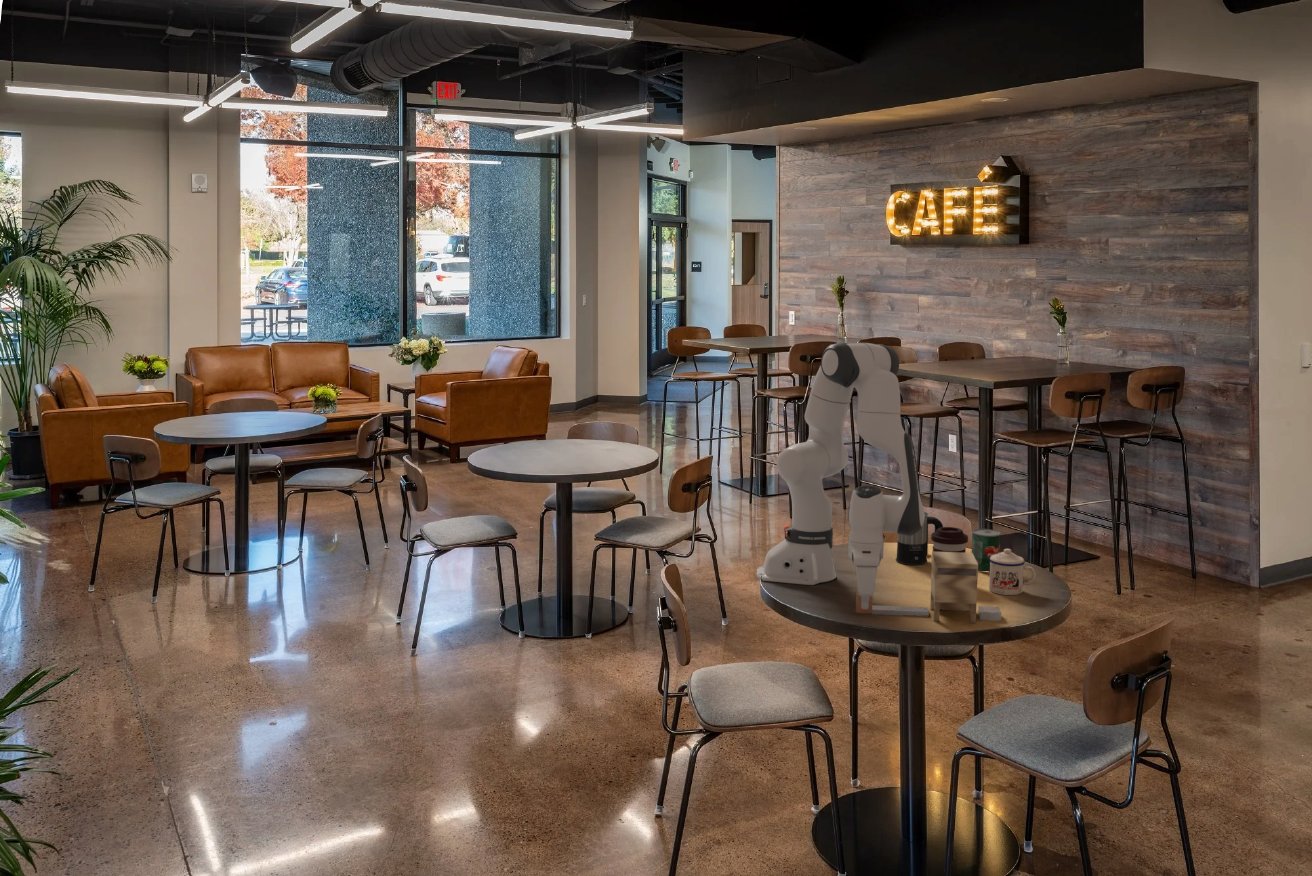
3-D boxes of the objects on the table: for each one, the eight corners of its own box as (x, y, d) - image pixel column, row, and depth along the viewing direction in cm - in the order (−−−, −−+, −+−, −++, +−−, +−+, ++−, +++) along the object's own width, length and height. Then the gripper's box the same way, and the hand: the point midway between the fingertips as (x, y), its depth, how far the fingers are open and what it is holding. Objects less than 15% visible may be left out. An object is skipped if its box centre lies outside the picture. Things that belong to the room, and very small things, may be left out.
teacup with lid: (987, 594, 296) (989, 552, 294) (988, 585, 305) (990, 544, 303) (1035, 598, 292) (1037, 555, 291) (1034, 588, 301) (1036, 547, 299)
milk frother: (907, 567, 323) (908, 517, 321) (876, 554, 337) (878, 506, 335) (946, 562, 328) (948, 513, 326) (915, 549, 343) (916, 502, 340)
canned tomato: (995, 574, 315) (997, 536, 314) (967, 570, 319) (969, 533, 317) (1001, 567, 322) (1003, 530, 320) (974, 564, 326) (976, 527, 324)
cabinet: (934, 621, 273) (936, 563, 271) (930, 607, 284) (932, 551, 282) (975, 623, 272) (978, 564, 269) (970, 609, 283) (972, 552, 281)
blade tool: (856, 613, 280) (856, 594, 279) (855, 609, 284) (856, 590, 283) (928, 616, 278) (929, 597, 277) (927, 612, 281) (928, 593, 280)
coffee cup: (967, 587, 302) (969, 534, 300) (930, 585, 304) (932, 532, 302) (964, 577, 312) (967, 526, 309) (928, 575, 314) (930, 524, 311)
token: (980, 621, 275) (980, 611, 274) (978, 614, 280) (978, 605, 279) (1000, 622, 274) (1001, 613, 274) (998, 616, 279) (998, 606, 278)
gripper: (852, 540, 290) (850, 590, 292) (853, 560, 270) (852, 614, 272) (876, 540, 289) (875, 591, 291) (880, 561, 269) (878, 616, 271)
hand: (864, 603), depth 281 cm, fingers open, 7 cm apart
